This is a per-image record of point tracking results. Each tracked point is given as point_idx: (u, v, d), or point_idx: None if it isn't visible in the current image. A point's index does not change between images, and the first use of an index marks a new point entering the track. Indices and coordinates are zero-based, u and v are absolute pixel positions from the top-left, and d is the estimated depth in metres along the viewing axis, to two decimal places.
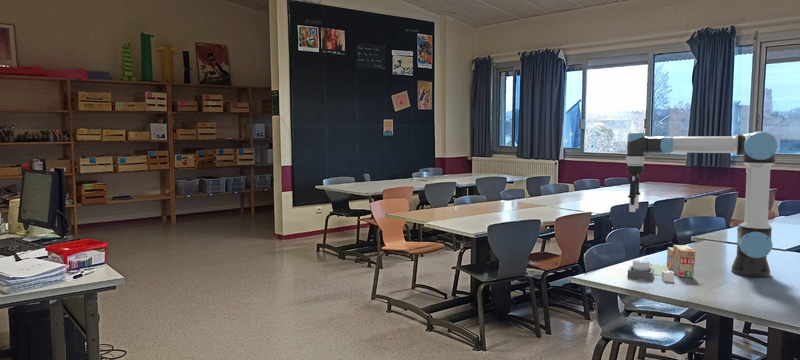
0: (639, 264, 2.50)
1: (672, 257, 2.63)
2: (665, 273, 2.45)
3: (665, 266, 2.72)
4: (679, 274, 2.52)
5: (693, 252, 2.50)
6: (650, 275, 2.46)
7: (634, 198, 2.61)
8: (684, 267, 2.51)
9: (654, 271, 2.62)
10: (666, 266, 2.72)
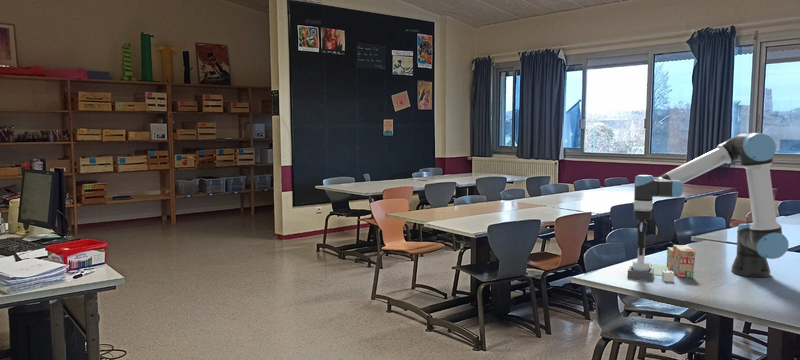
0: (639, 265, 2.50)
1: (672, 257, 2.63)
2: (665, 273, 2.45)
3: (665, 266, 2.72)
4: (679, 274, 2.52)
5: (693, 252, 2.50)
6: (650, 275, 2.46)
7: (643, 248, 2.51)
8: (684, 267, 2.51)
9: (654, 271, 2.62)
10: (666, 266, 2.72)
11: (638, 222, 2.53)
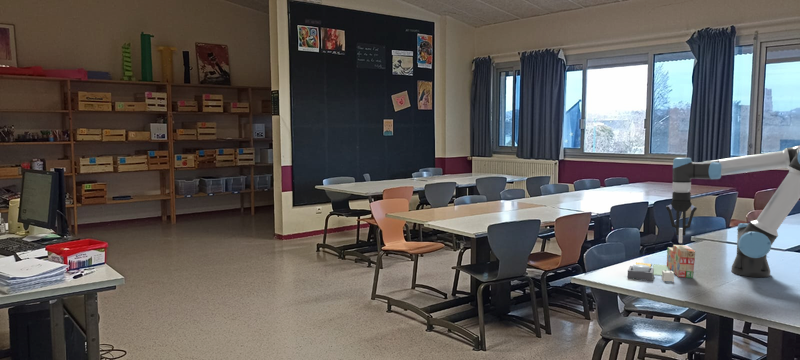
0: (639, 268, 2.50)
1: (672, 257, 2.63)
2: (665, 273, 2.45)
3: (665, 266, 2.72)
4: (679, 274, 2.52)
5: (693, 252, 2.50)
6: (650, 275, 2.46)
7: (678, 229, 2.59)
8: (684, 267, 2.51)
9: (654, 271, 2.62)
10: (666, 266, 2.72)
11: None
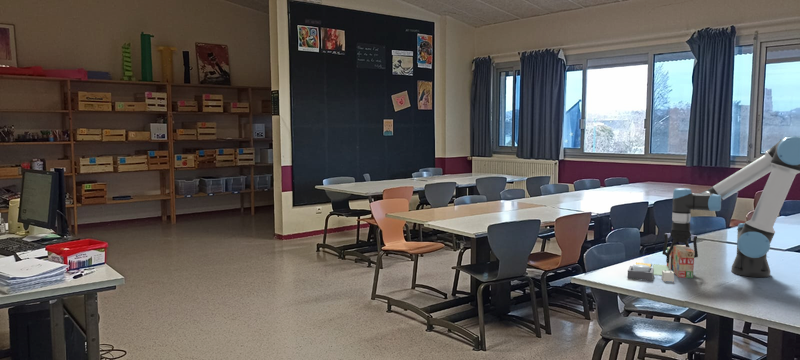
0: (639, 268, 2.50)
1: (672, 257, 2.63)
2: (665, 273, 2.45)
3: (665, 266, 2.72)
4: (679, 274, 2.52)
5: (692, 252, 2.50)
6: (650, 275, 2.46)
7: (669, 257, 2.63)
8: (684, 267, 2.51)
9: (654, 271, 2.62)
10: (666, 266, 2.72)
11: None
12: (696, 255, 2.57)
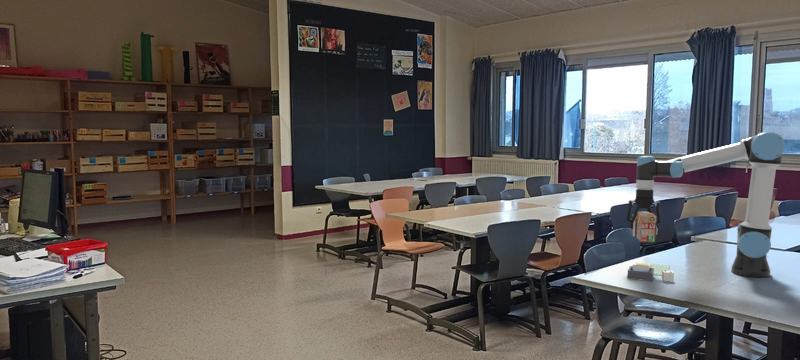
0: (639, 268, 2.50)
1: (636, 224, 2.69)
2: (665, 273, 2.45)
3: (665, 266, 2.72)
4: (641, 239, 2.58)
5: (654, 217, 2.56)
6: (650, 275, 2.46)
7: None
8: (646, 232, 2.58)
9: (654, 271, 2.62)
10: (666, 266, 2.72)
11: None
12: (659, 221, 2.63)
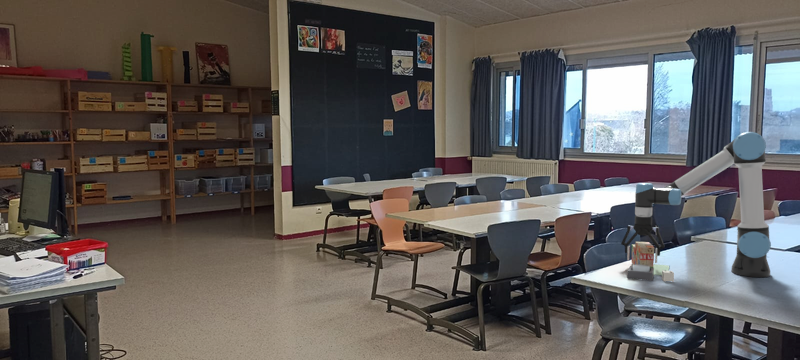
0: (639, 268, 2.50)
1: (635, 254, 2.71)
2: (665, 273, 2.45)
3: (665, 266, 2.72)
4: None
5: (652, 248, 2.58)
6: (650, 275, 2.46)
7: (627, 247, 2.71)
8: (644, 262, 2.59)
9: (654, 271, 2.62)
10: (666, 266, 2.72)
11: None
12: (662, 246, 2.63)
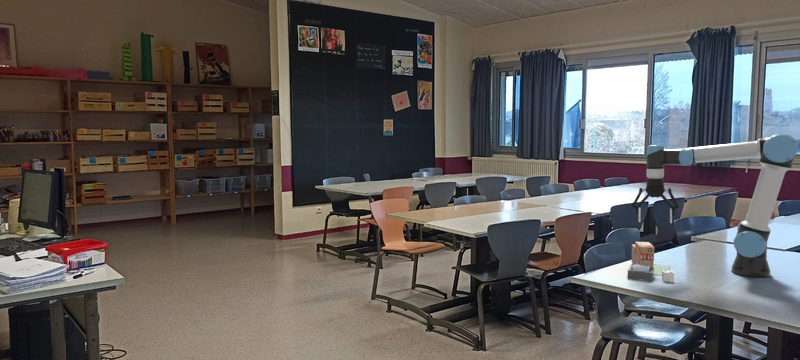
0: (639, 268, 2.50)
1: (634, 254, 2.71)
2: (665, 273, 2.45)
3: (665, 266, 2.72)
4: None
5: (652, 248, 2.58)
6: (650, 275, 2.46)
7: (638, 209, 2.71)
8: (644, 262, 2.59)
9: (654, 271, 2.62)
10: (666, 266, 2.72)
11: None
12: (677, 206, 2.63)
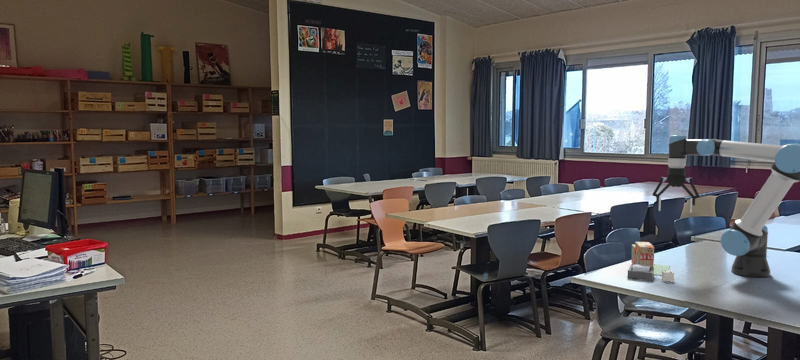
0: (639, 268, 2.50)
1: (634, 254, 2.71)
2: (665, 273, 2.45)
3: (665, 266, 2.72)
4: None
5: (652, 248, 2.58)
6: (650, 275, 2.46)
7: (659, 197, 2.74)
8: (644, 262, 2.59)
9: (654, 271, 2.62)
10: (666, 266, 2.72)
11: None
12: (697, 195, 2.66)
